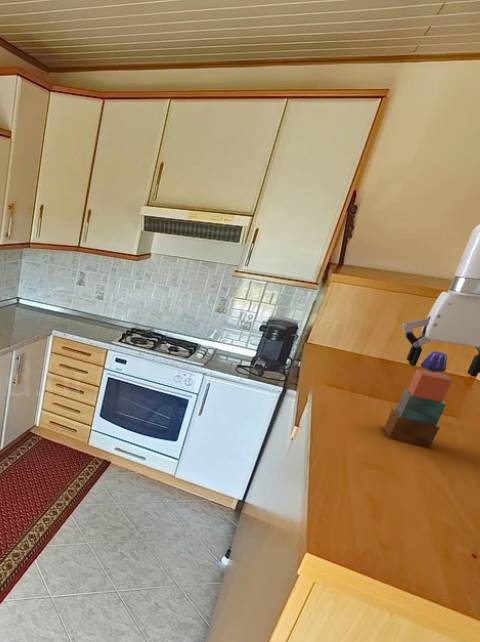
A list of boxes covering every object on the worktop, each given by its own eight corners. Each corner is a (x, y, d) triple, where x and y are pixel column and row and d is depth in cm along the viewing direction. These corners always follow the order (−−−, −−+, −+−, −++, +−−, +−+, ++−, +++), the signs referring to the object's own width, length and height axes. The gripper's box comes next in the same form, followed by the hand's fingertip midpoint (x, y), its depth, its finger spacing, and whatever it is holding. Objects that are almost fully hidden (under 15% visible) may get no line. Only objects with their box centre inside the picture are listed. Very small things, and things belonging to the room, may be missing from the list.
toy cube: (436, 396, 106) (446, 374, 105) (442, 402, 102) (452, 380, 101) (407, 390, 109) (416, 368, 107) (412, 396, 105) (421, 374, 103)
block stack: (422, 437, 110) (441, 396, 107) (429, 448, 105) (450, 405, 101) (384, 427, 114) (401, 387, 110) (388, 437, 108) (407, 396, 104)
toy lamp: (426, 421, 120) (456, 357, 115) (403, 416, 122) (432, 353, 116) (417, 414, 125) (446, 352, 119) (395, 410, 126) (422, 348, 120)
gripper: (528, 293, 96) (490, 375, 102) (415, 281, 104) (386, 357, 110) (544, 297, 90) (503, 384, 96) (423, 283, 98) (392, 364, 104)
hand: (440, 369), depth 103 cm, fingers open, 9 cm apart
